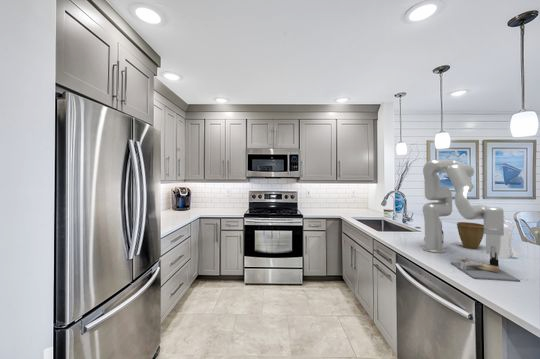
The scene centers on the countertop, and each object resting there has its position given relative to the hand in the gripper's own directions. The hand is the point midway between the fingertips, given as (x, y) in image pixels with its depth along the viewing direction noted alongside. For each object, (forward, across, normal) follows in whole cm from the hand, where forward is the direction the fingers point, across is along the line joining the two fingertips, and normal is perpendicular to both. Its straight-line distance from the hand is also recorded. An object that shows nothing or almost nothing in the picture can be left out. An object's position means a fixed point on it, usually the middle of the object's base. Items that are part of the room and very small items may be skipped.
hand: (494, 266), depth 120 cm
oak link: (+1, +3, -6) cm, 7 cm away
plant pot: (+2, -43, -14) cm, 45 cm away
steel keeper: (+2, +8, -8) cm, 12 cm away
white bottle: (+2, -32, +2) cm, 32 cm away
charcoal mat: (+2, +6, -4) cm, 7 cm away
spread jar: (+2, -44, -36) cm, 57 cm away
